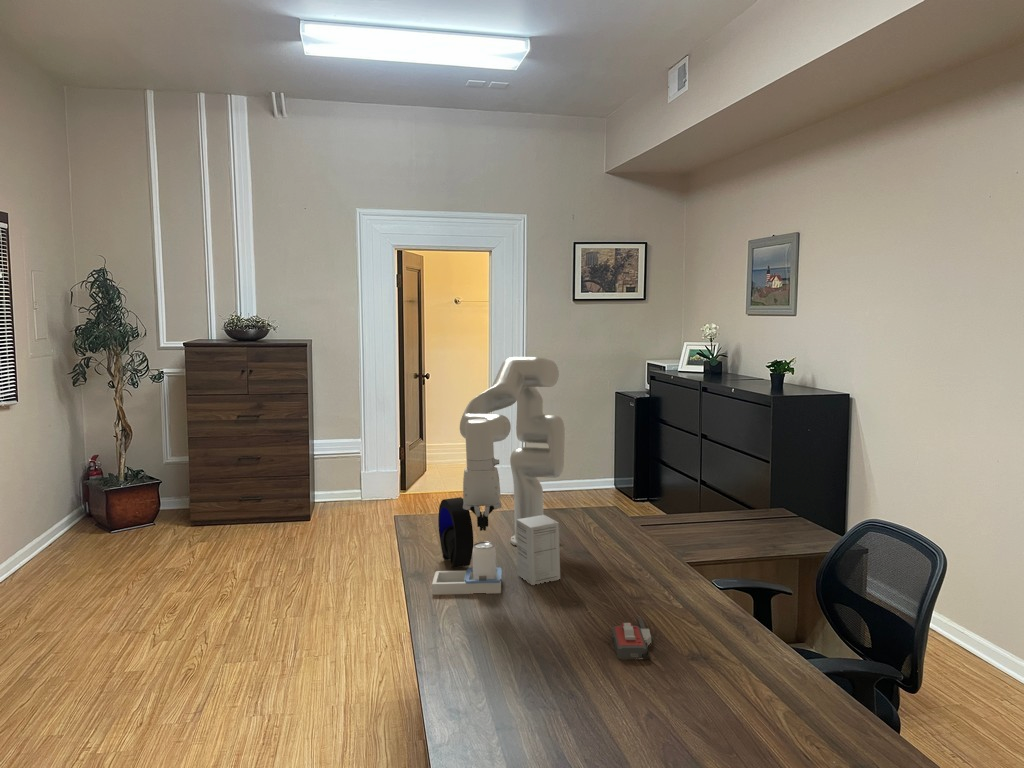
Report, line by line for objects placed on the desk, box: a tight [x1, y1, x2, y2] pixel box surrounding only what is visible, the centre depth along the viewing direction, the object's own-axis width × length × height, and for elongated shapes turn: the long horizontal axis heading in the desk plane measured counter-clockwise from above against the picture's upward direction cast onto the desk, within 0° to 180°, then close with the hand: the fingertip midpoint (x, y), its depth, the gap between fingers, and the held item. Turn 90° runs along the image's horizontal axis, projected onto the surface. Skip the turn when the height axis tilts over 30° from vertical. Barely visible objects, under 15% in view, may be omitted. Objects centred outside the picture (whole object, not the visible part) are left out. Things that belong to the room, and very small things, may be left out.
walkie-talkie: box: [611, 616, 652, 660], centre depth 164 cm, size 9×4×20 cm
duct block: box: [431, 567, 503, 596], centre depth 198 cm, size 19×10×5 cm, turn 90°
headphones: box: [437, 497, 474, 569], centre depth 216 cm, size 19×7×20 cm, turn 22°
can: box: [472, 541, 497, 580], centre depth 198 cm, size 6×6×12 cm
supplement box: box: [516, 514, 561, 586], centre depth 204 cm, size 10×9×17 cm
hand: (483, 529), depth 197 cm, fingers closed
